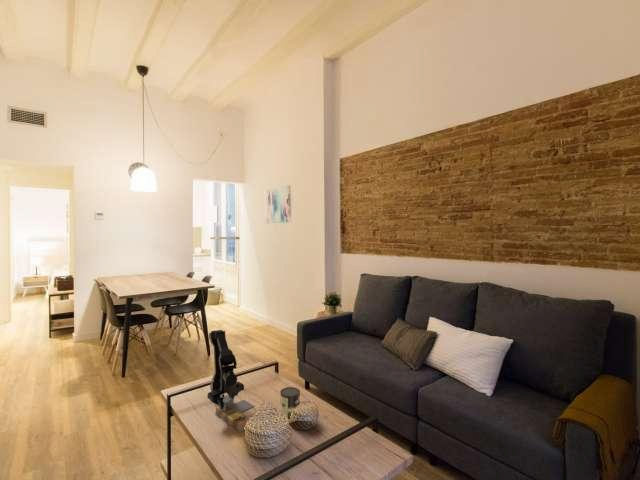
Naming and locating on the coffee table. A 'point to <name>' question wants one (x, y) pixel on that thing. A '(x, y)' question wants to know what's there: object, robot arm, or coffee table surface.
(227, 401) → the cap block
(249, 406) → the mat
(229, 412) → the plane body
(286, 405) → the coffee can
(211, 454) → the coffee table surface
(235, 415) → the lever
